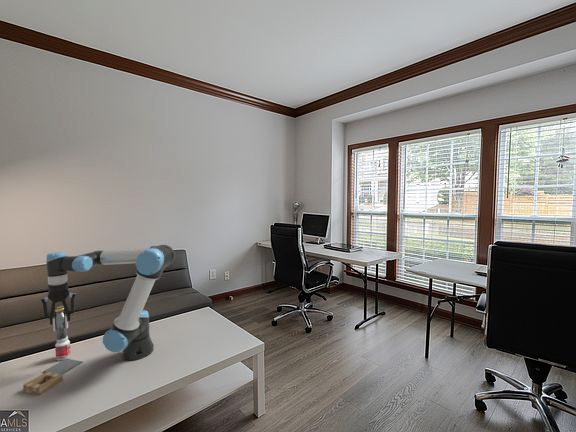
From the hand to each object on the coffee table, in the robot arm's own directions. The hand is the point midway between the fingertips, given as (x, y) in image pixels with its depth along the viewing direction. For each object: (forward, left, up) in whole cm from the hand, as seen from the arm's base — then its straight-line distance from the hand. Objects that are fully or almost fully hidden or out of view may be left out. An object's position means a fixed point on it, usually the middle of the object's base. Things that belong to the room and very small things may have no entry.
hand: (60, 328), depth 137 cm
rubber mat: (0, 0, -20) cm, 20 cm away
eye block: (-6, +13, -20) cm, 25 cm away
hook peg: (0, 0, -5) cm, 5 cm away
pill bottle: (+9, -7, -20) cm, 23 cm away
